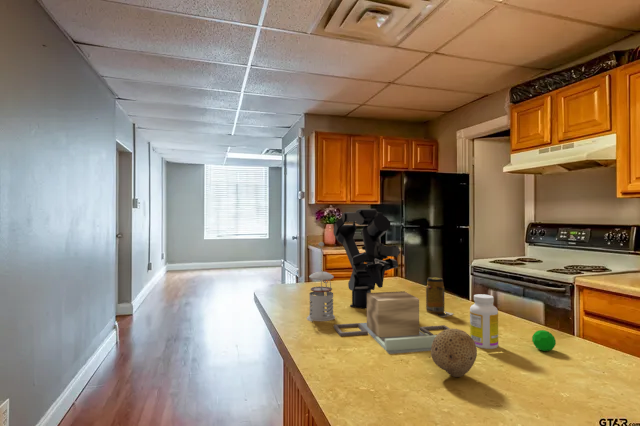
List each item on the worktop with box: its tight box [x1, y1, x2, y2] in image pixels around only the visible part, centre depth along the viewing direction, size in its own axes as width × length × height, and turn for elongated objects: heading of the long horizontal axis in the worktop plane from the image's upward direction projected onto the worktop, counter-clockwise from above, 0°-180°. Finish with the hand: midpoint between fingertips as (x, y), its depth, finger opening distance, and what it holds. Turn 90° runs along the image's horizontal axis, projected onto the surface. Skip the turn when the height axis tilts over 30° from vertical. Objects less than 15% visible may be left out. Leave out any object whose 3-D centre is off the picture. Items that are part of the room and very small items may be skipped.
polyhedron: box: [531, 329, 557, 352], centre depth 91 cm, size 5×5×5 cm
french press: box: [306, 241, 336, 323], centre depth 120 cm, size 10×12×25 cm
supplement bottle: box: [469, 293, 499, 350], centre depth 94 cm, size 7×7×13 cm
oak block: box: [366, 291, 420, 337], centre depth 105 cm, size 10×12×10 cm
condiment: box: [425, 276, 454, 318], centre depth 125 cm, size 7×8×12 cm
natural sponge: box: [430, 328, 478, 378], centre depth 76 cm, size 9×9×10 cm
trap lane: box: [333, 322, 451, 355], centre depth 101 cm, size 25×32×3 cm
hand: (380, 287), depth 119 cm, fingers closed
